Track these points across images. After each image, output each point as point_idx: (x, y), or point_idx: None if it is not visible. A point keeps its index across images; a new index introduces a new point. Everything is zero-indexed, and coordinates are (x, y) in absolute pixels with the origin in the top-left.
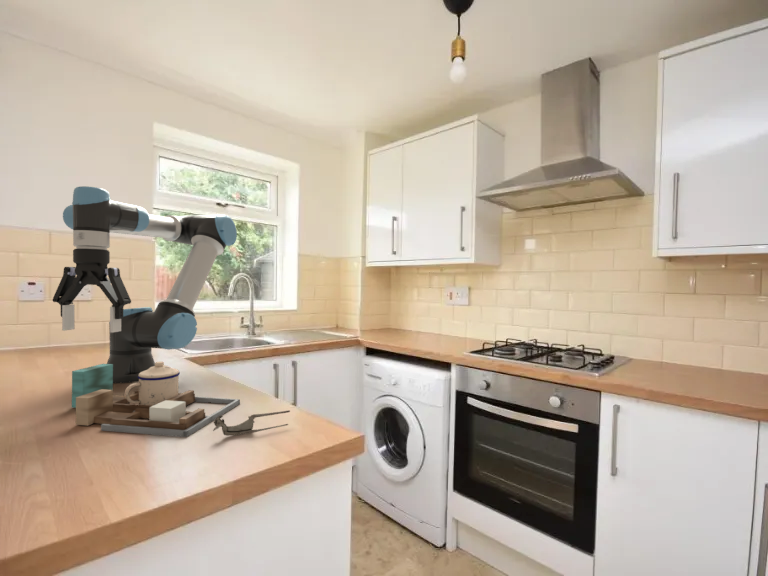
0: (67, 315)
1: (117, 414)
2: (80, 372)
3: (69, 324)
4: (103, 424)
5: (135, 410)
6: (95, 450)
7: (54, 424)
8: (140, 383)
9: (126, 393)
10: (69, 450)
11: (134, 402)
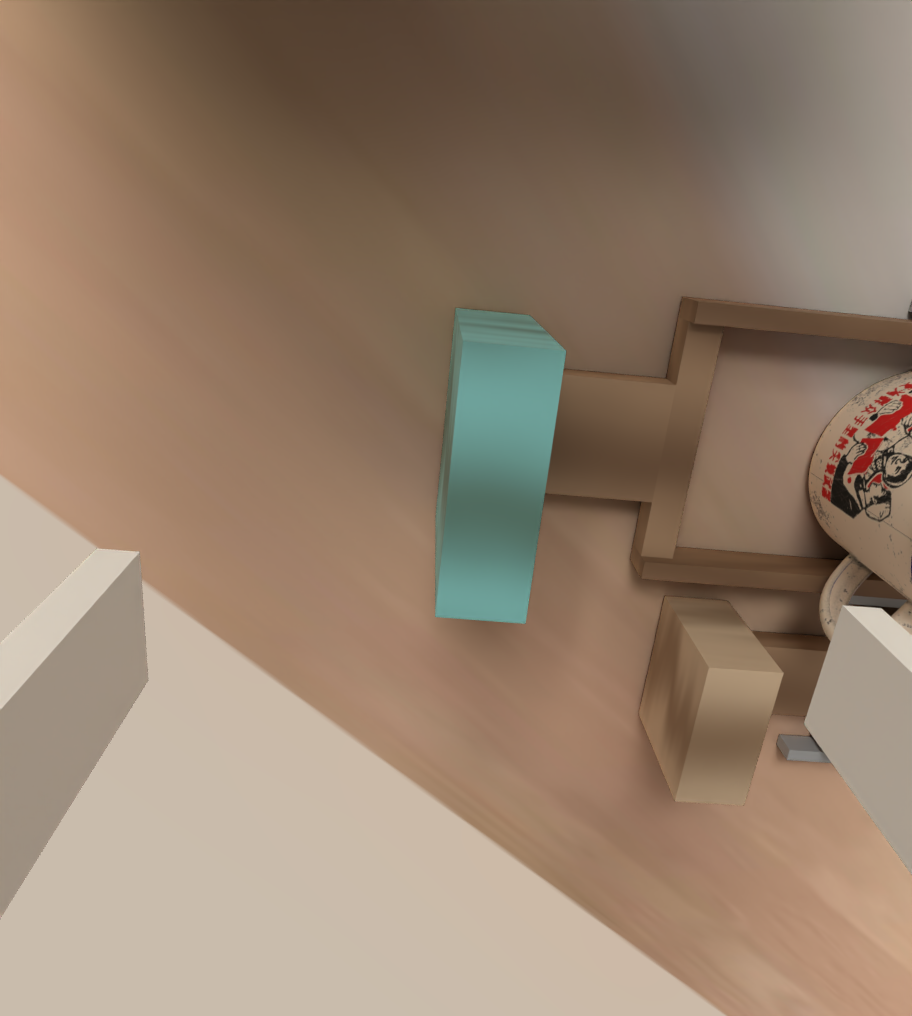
0: (48, 799)
1: (802, 673)
2: (503, 618)
3: (110, 663)
4: (795, 757)
5: None
6: (858, 877)
7: (536, 707)
8: None
9: None
10: (774, 884)
11: (850, 595)
